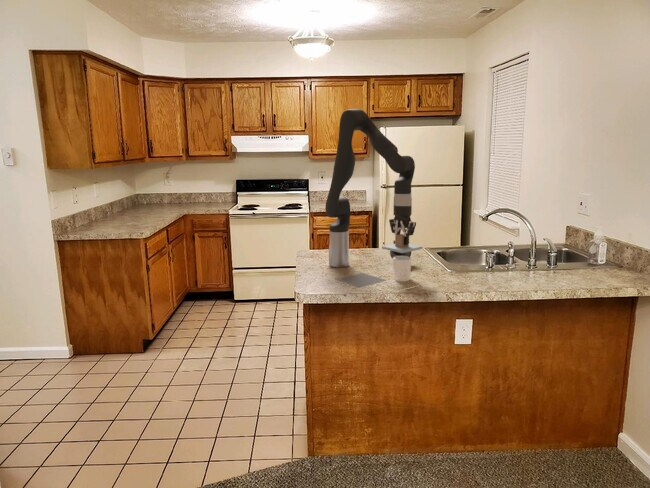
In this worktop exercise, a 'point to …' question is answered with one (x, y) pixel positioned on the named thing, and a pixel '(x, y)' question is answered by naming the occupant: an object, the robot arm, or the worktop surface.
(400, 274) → the white cup
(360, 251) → the worktop surface
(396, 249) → the lid
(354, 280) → the mat
